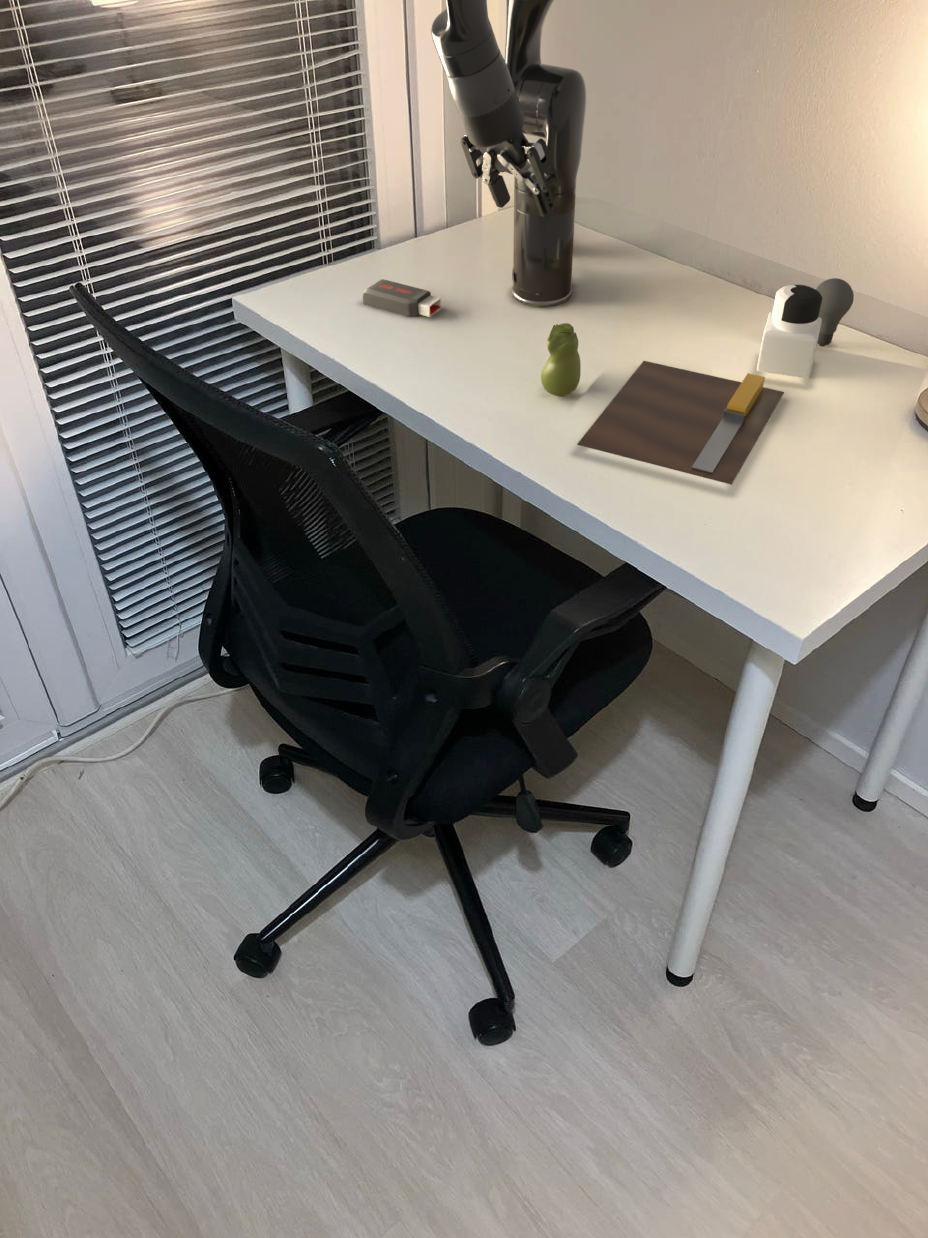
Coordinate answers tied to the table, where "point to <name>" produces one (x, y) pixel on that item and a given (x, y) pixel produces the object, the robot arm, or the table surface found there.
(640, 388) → the cutting board
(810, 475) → the table surface
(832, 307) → the light bulb
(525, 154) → the robot arm
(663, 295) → the table surface
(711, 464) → the knife
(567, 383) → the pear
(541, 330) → the table surface
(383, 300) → the usb drive
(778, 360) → the medicine bottle
